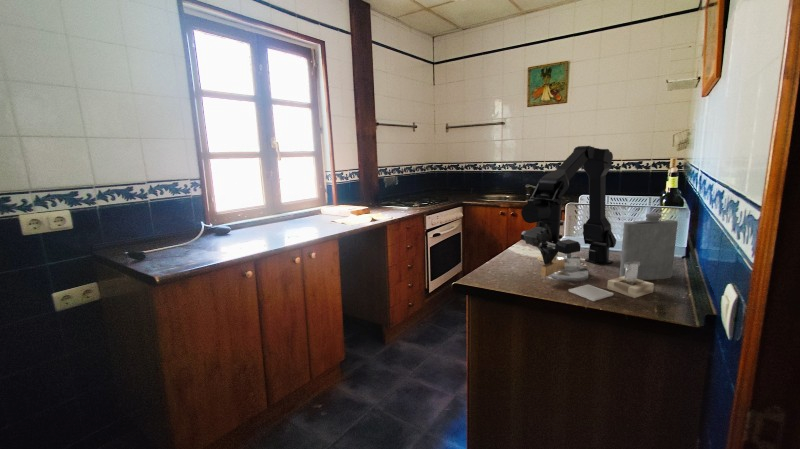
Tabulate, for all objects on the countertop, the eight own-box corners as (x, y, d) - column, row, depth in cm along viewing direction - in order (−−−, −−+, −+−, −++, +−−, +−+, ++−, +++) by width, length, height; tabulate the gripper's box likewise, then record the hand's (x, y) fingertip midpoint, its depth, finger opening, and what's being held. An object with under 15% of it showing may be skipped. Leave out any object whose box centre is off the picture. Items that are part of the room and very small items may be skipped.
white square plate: (587, 286, 108) (588, 284, 108) (613, 295, 101) (613, 293, 101) (568, 291, 105) (568, 289, 105) (593, 301, 98) (593, 299, 98)
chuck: (563, 263, 123) (564, 241, 121) (583, 268, 117) (585, 244, 116) (532, 275, 113) (533, 251, 111) (553, 281, 107) (554, 256, 106)
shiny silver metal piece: (630, 287, 106) (632, 260, 105) (640, 290, 104) (643, 262, 102) (618, 290, 104) (621, 262, 103) (629, 293, 102) (631, 265, 100)
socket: (625, 283, 109) (626, 275, 109) (653, 292, 102) (653, 283, 102) (607, 288, 106) (607, 280, 106) (634, 297, 99) (635, 289, 98)
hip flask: (666, 274, 116) (673, 211, 112) (676, 278, 112) (683, 214, 108) (617, 276, 115) (622, 214, 111) (625, 281, 111) (631, 216, 107)
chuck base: (565, 266, 126) (565, 261, 126) (596, 276, 116) (597, 270, 115) (539, 272, 121) (539, 267, 121) (569, 283, 111) (569, 277, 110)
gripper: (508, 215, 116) (506, 262, 119) (554, 227, 99) (550, 281, 103) (535, 212, 120) (532, 257, 124) (583, 223, 104) (579, 275, 107)
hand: (547, 267), depth 114 cm, fingers closed
